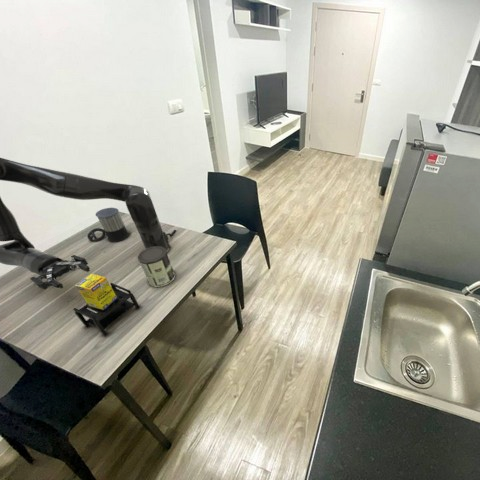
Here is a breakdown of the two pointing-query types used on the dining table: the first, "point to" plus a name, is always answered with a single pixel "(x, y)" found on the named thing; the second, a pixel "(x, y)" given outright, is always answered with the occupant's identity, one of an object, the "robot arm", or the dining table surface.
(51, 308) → the dining table surface
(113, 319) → the rack
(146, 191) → the robot arm
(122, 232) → the milk frother
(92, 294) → the supplement box
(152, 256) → the coffee can
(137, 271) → the dining table surface
